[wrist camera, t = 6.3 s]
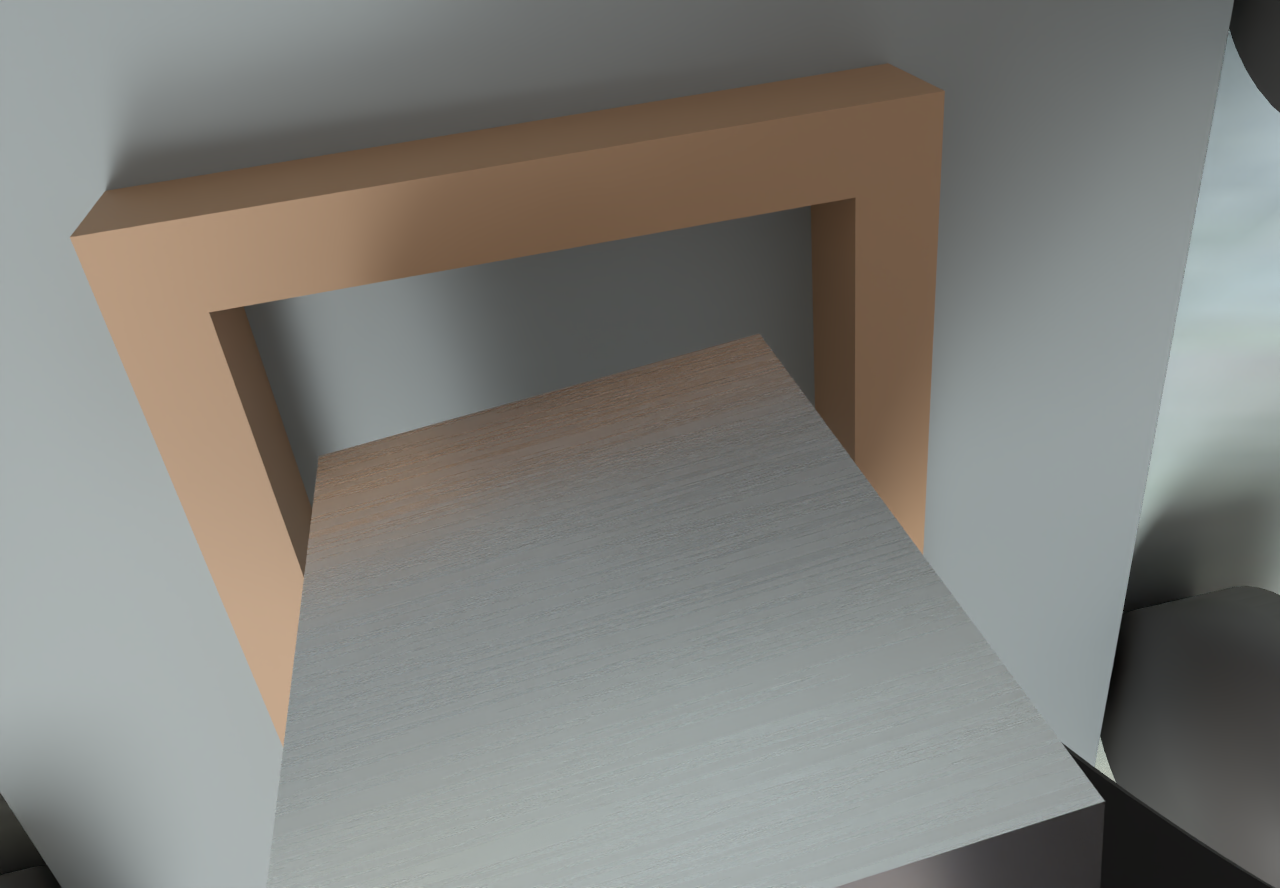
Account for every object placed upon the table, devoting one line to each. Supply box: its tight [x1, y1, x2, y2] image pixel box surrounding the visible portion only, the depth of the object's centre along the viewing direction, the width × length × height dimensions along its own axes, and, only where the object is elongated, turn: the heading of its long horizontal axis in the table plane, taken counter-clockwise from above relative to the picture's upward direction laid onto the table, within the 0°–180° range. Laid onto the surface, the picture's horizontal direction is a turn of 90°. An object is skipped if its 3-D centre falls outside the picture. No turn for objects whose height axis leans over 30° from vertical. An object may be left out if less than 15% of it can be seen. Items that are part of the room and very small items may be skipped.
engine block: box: [266, 334, 1105, 888], centre depth 9 cm, size 4×6×6 cm
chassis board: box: [0, 0, 1280, 888], centre depth 13 cm, size 22×21×5 cm
